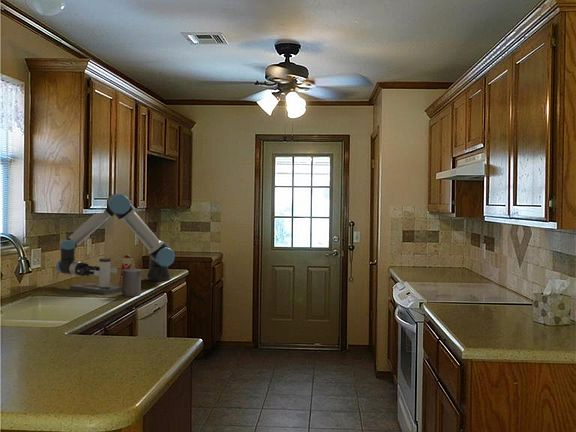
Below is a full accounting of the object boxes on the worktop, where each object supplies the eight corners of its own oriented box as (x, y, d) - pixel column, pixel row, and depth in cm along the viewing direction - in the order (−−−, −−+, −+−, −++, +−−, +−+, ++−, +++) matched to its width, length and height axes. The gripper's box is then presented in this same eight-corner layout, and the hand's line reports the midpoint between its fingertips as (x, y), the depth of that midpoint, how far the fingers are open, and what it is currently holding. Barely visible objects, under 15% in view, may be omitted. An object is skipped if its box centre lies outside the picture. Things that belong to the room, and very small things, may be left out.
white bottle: (98, 286, 314) (99, 258, 314) (104, 285, 318) (104, 258, 318) (104, 287, 313) (105, 259, 312) (110, 286, 316) (110, 258, 316)
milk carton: (132, 287, 330) (133, 253, 329) (117, 287, 330) (117, 253, 329) (137, 285, 339) (138, 252, 338) (122, 284, 339) (122, 251, 338)
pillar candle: (119, 294, 308) (120, 266, 308) (136, 292, 314) (137, 265, 314) (126, 297, 301) (126, 269, 300) (143, 295, 307) (144, 268, 306)
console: (69, 289, 317) (69, 285, 317) (88, 286, 330) (88, 282, 330) (104, 294, 306) (104, 290, 306) (122, 290, 319) (122, 286, 319)
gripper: (95, 272, 335) (123, 276, 325) (62, 277, 312) (91, 281, 303) (96, 260, 334) (123, 263, 325) (62, 264, 312) (91, 267, 303)
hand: (108, 272), depth 314 cm, fingers open, 13 cm apart
